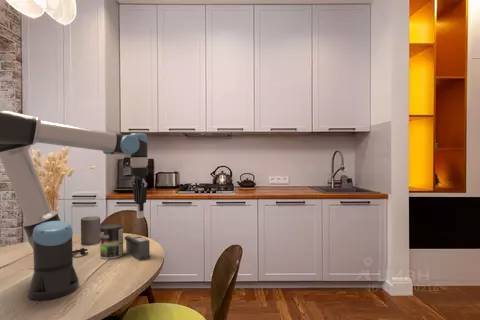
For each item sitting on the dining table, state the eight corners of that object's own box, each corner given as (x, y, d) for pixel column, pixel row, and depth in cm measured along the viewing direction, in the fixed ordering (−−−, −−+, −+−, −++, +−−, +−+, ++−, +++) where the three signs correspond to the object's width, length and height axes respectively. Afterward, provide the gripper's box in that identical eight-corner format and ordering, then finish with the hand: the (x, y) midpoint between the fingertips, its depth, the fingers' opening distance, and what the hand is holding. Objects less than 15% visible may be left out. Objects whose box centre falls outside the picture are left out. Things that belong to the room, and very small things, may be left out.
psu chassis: (137, 260, 135) (137, 242, 135) (125, 252, 146) (124, 235, 146) (149, 257, 139) (149, 239, 138) (136, 250, 150) (136, 233, 150)
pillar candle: (76, 244, 161) (76, 216, 160) (90, 239, 170) (90, 213, 170) (91, 246, 158) (91, 218, 158) (104, 241, 167) (104, 214, 167)
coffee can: (109, 260, 136) (108, 229, 135) (95, 256, 141) (94, 227, 141) (128, 254, 144) (127, 224, 144) (114, 250, 150) (114, 222, 149)
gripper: (153, 166, 136) (154, 218, 137) (141, 166, 146) (142, 214, 147) (137, 167, 131) (138, 221, 132) (125, 166, 141) (126, 216, 142)
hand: (140, 217), depth 139 cm, fingers closed
